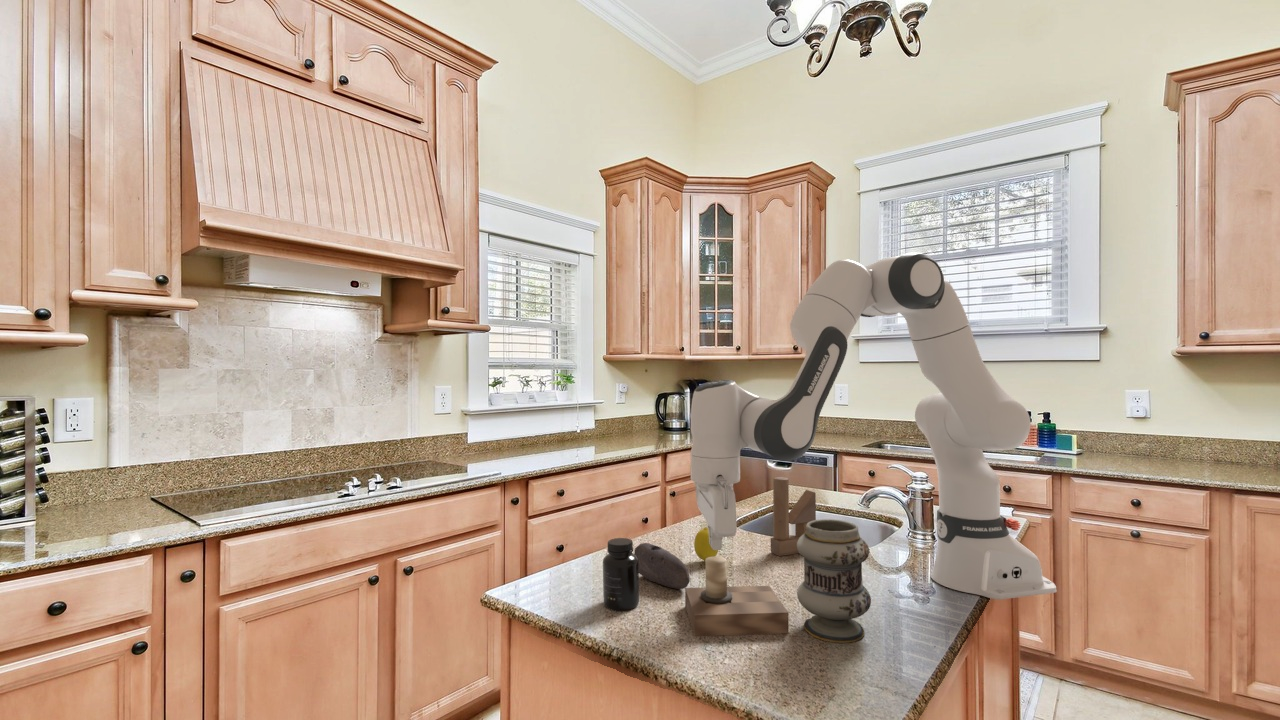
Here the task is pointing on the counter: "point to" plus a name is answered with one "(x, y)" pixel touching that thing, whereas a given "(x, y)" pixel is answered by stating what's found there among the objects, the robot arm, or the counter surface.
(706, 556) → the lemon
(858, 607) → the apothecary jar
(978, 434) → the robot arm
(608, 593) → the supplement bottle
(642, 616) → the counter surface
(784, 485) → the wooden block structure
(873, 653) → the counter surface
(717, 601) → the maple peg
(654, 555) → the perforated stone tool
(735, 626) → the walnut board
